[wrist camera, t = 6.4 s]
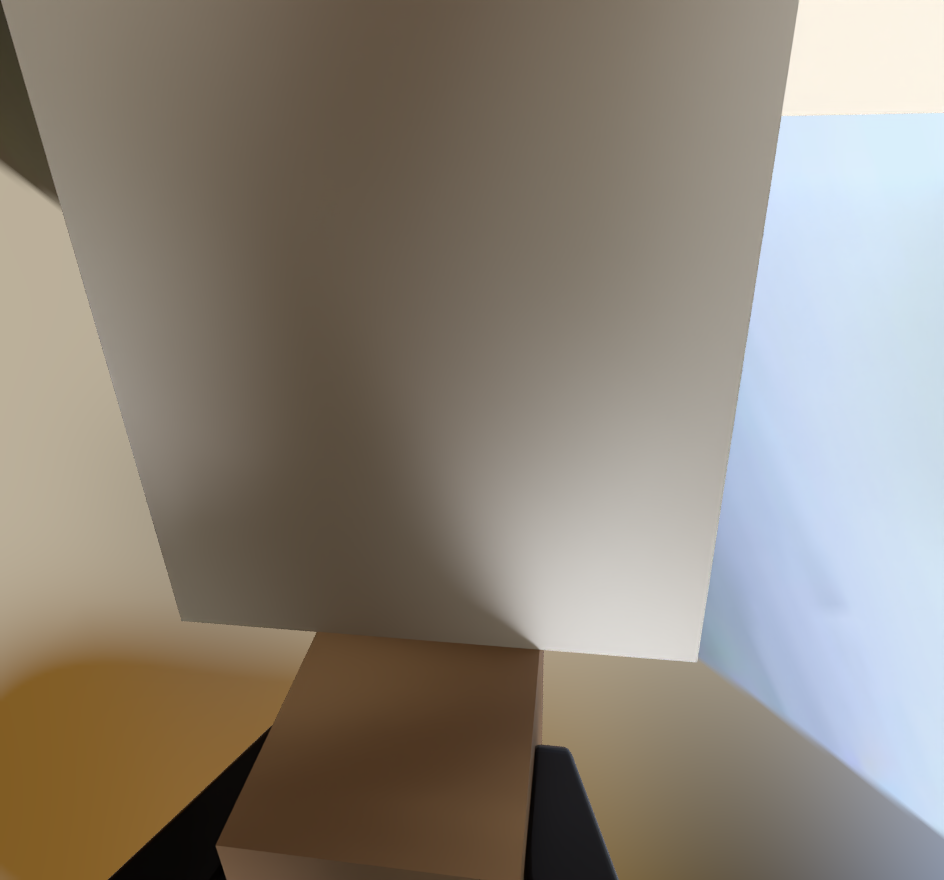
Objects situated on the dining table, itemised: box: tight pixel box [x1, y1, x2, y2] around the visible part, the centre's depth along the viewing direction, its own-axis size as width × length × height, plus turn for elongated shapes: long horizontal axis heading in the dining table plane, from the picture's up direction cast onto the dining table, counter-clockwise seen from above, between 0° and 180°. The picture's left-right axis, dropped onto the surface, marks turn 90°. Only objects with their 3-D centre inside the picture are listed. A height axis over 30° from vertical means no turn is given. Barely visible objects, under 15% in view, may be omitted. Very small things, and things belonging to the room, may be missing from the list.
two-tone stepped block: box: [1, 0, 799, 880], centre depth 8 cm, size 6×15×4 cm, turn 2°
